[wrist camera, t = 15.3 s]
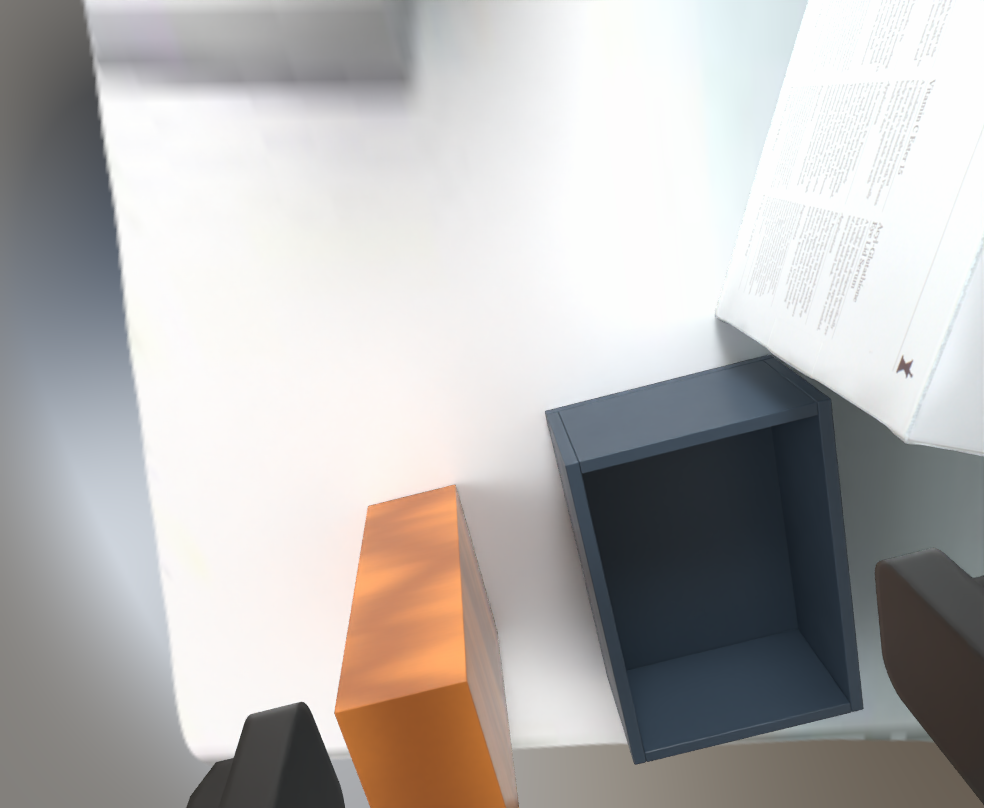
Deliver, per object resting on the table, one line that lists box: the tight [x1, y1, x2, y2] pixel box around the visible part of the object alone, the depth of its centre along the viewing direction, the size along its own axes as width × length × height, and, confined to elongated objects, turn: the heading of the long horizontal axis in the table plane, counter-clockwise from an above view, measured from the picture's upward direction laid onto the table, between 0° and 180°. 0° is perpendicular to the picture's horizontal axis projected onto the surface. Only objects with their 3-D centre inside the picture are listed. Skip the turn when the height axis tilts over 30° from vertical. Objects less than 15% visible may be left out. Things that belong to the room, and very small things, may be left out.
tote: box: [545, 355, 863, 764], centre depth 40 cm, size 11×16×6 cm
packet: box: [334, 485, 519, 808], centre depth 36 cm, size 4×9×15 cm, turn 14°
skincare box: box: [715, 0, 984, 456], centre depth 29 cm, size 21×5×16 cm, turn 168°
